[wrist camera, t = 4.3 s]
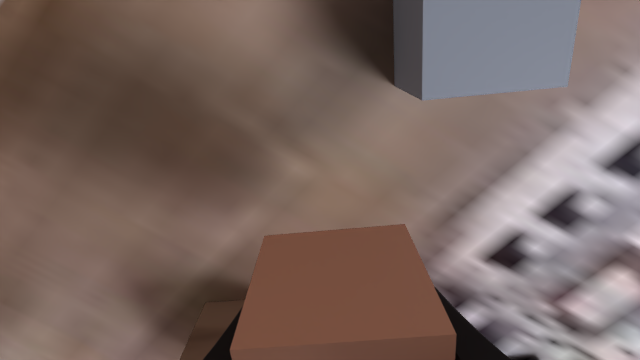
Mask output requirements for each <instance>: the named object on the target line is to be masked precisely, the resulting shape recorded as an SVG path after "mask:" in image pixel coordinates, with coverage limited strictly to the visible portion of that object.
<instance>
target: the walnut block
mask: <svg viewBox="0 0 640 360" xmlns="http://www.w3.org/2000/svg"><path fill="white" fill-rule="evenodd" d="M244 301H245V300H234V301H220V302H207V303H205V305H204V307H203V309H202V312H201V314H200V316H199V318H198V320H197V323H196V325H195V327H194V329H193V331H192V334H191V336H190V338H189V340H188V342H187V345H186V347H185V349H184V351H183V354H182V356H181V358H180V360H203V359H204V357H205V356H206V355H207V354H208V353H209V351H210V350H211V349H212V348H213V346H214V345H215V344H216V342H217V341H218V340H219V338H220V337H221V336H222V334H223V333H224V332H225V330H226V329H227V328H228V326H229V325H230V323H231V322H232V321H233V319H234V318H235V316H236V315H237V314H238V312H239V311H240V309H241V308H242V306H243V305H244Z"/></svg>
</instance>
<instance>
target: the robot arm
mask: <svg viewBox="0 0 640 360" xmlns="http://www.w3.org/2000/svg"><path fill="white" fill-rule="evenodd" d="M435 290H436V292H437V294H438V296H439V298H440V300H441V302H442V304H443V307H444V309H445V311H446V313H447V315H448V317H449V319H450V321H451V324H452V326H453V328H454V330H455V332H456V334H457V335H456V352H455V360H511V359H510V358H508V357H507V356H506V355H505V354H504V353H502V352H501V351H500V350H499V349H498V348H497V347H495V346H494V345H493V344H492V343H491V342H490V341H489V340H487V339H486V338H485V337H484V336H483V335H482V334H481V333H480V332H479V331H478V330H477V329H476V328H475V327H473V326H472V325H471V324H470V323H469V322H468V321H467V320H466V319H465V318H464V317H463V316H462V315H461V314H460V313H459V312H458V311H457V310H456V309H455V308H454V307H453V306H452V305H451V304H450V303H449V302H448V300H447V299H446V298H445V297H444V296H443V295H442V294H441V293H440V292H439V291H438V290H437V289H436V288H435ZM242 308H243V306H242ZM242 308H241V309H240V311H239V312H238V314H237V315H236V316H235V318H234V319H233V321H232V322H231V323H230V325H229V326H228V328H227V329H226V330H225V332H224V333H223V334H222V336H221V337H220V338H219V340H218V341H217V342H216V344H215V345H214V346H213V348H212V349H211V350H210V351H209V353H208V354H207V355H206V356H205V357H204V359H203V360H232V358H231V354H230V347H231V344H232V341H233V338H234V334H235V331H236V328H237V324H238V321H239V318H240V315H241V311H242Z"/></svg>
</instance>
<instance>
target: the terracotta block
mask: <svg viewBox="0 0 640 360" xmlns="http://www.w3.org/2000/svg"><path fill="white" fill-rule="evenodd" d="M456 335H457V334H456V332H455V330H454V328H453V326H452V324H451V321H450V319H449V317H448V315H447V313H446V311H445V309H444V307H443V304H442V302H441V300H440V298H439V296H438V294H437V292H436V290H435V287H434V285H433V283H432V281H431V279H430V277H429V275H428V273H427V270H426V268H425V266H424V264H423V262H422V260H421V258H420V256H419V253H418V251H417V249H416V247H415V245H414V243H413V241H412V239H411V236H410V234H409V232H408V230H407V228H406V226H405V224H400V225H388V226H376V227H364V228H352V229H340V230H328V231H316V232H304V233H292V234H280V235H268V236H264V239H263V243H262V246H261V249H260V252H259V256H258V259H257V262H256V265H255V269H254V272H253V275H252V279H251V282H250V285H249V288H248V292H247V295H246V298H245V301H244V305H243V308H242V311H241V315H240V318H239V321H238V324H237V328H236V331H235V334H234V338H233V341H232V344H231V347H230V354H231V358H232V360H455V352H456Z"/></svg>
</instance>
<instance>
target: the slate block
mask: <svg viewBox="0 0 640 360" xmlns="http://www.w3.org/2000/svg"><path fill="white" fill-rule="evenodd" d="M580 3H581V0H393V21H394V80H395V87H397V88H399V89H401V90H403V91H405V92H407V93H409V94H411V95H413V96H415V97H417V98H419V99H420V100H431V99H442V98H452V97H463V96H473V95H484V94H494V93H505V92H515V91H526V90H536V89H547V88H558V87H567V86H568V80H569V74H570V67H571V61H572V55H573V48H574V42H575V35H576V29H577V23H578V16H579V10H580Z"/></svg>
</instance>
